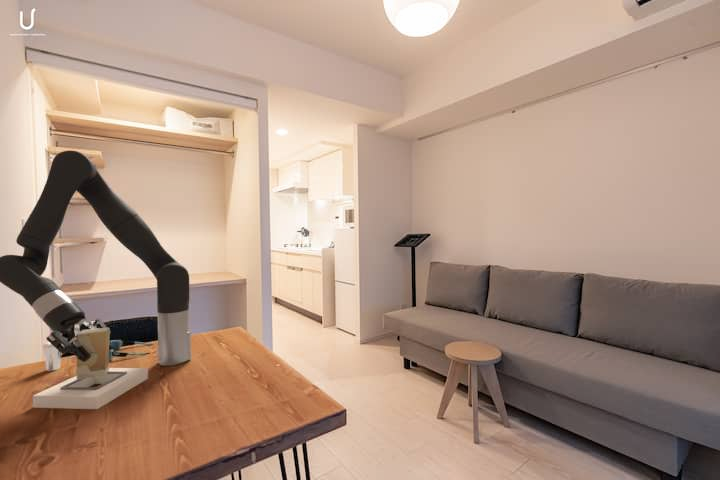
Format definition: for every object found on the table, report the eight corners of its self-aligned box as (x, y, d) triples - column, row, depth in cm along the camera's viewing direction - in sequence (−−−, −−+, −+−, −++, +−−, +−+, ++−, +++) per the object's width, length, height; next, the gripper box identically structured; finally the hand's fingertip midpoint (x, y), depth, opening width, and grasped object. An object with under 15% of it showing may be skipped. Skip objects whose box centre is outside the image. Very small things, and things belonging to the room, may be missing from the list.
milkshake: (52, 372, 100) (52, 341, 100) (39, 371, 101) (38, 340, 101) (68, 367, 105) (68, 336, 105) (55, 366, 106) (55, 335, 106)
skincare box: (76, 380, 84) (75, 333, 84) (81, 374, 88) (80, 329, 88) (106, 375, 87) (106, 330, 87) (110, 369, 91) (110, 326, 91)
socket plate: (94, 377, 96) (94, 366, 96) (147, 378, 95) (147, 367, 95) (33, 407, 80) (32, 394, 80) (97, 409, 78) (97, 395, 78)
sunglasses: (107, 350, 120) (109, 337, 121) (153, 349, 127) (155, 336, 127) (97, 363, 108) (99, 348, 108) (149, 361, 115) (151, 347, 115)
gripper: (39, 307, 81) (84, 354, 80) (91, 296, 95) (129, 336, 94) (20, 327, 81) (64, 375, 80) (75, 314, 95) (112, 354, 95)
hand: (99, 354), depth 87 cm, fingers closed on skincare box, 6 cm apart
